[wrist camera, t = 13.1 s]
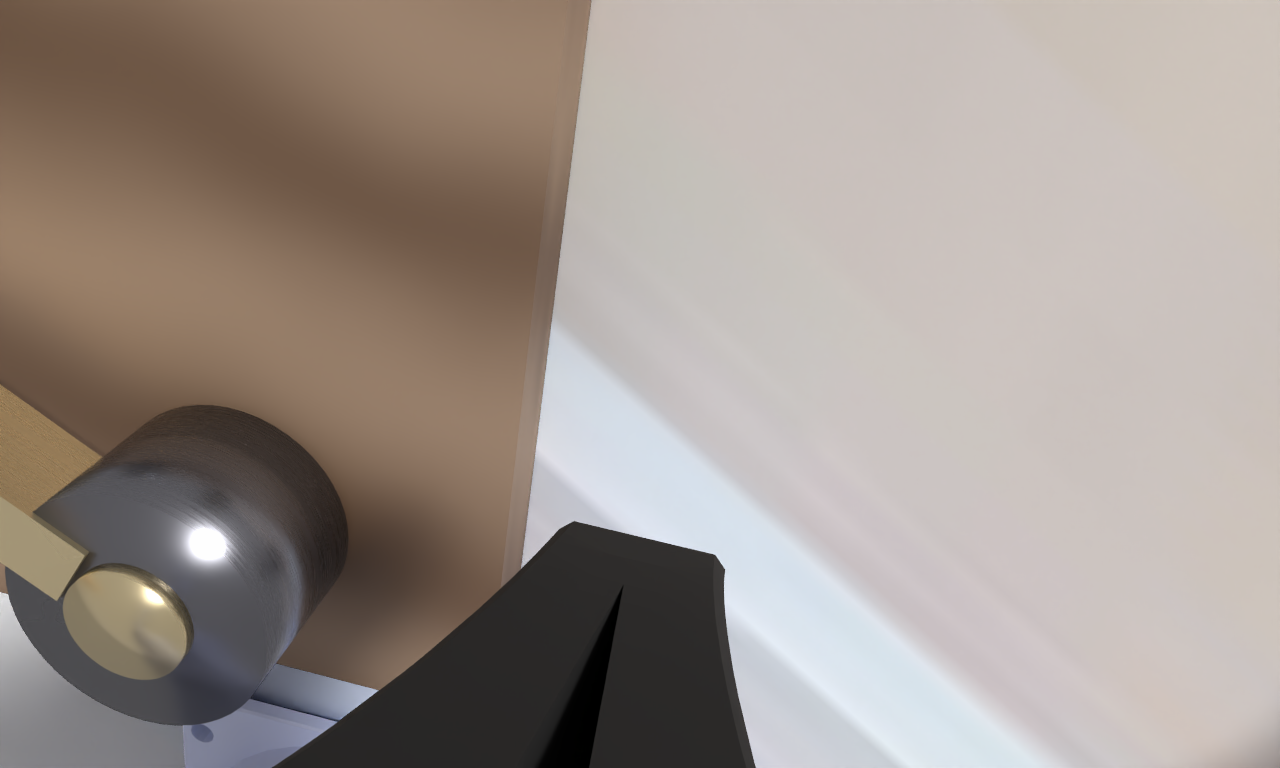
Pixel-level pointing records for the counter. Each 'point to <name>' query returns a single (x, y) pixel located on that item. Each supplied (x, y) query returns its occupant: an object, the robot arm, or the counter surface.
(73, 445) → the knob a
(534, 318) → the brown knob panel
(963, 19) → the counter surface
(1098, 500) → the counter surface
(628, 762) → the robot arm
